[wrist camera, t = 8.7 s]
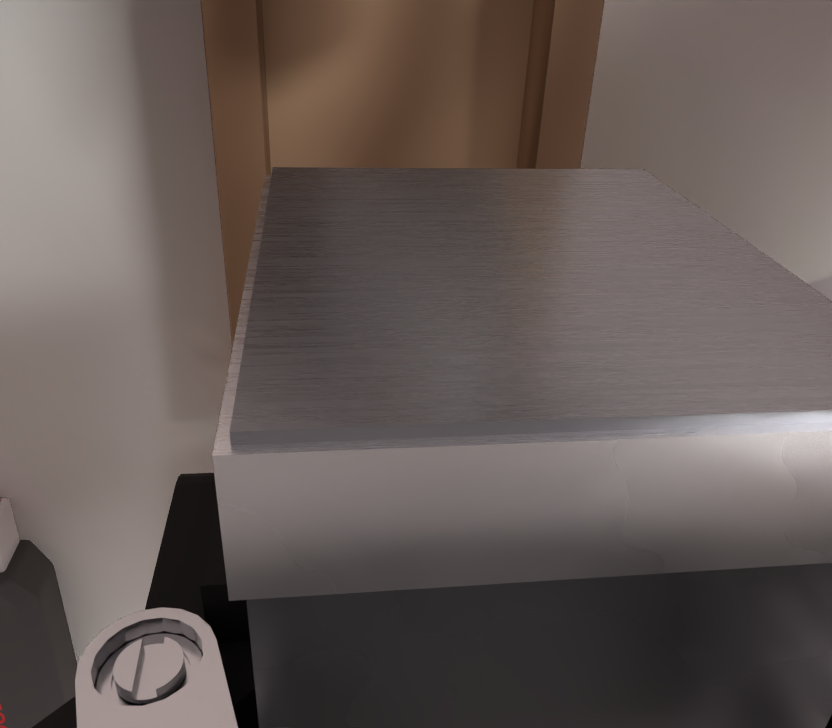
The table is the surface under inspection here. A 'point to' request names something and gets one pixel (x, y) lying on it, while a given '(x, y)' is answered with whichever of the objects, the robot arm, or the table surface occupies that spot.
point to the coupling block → (525, 457)
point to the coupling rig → (389, 92)
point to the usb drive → (31, 632)
